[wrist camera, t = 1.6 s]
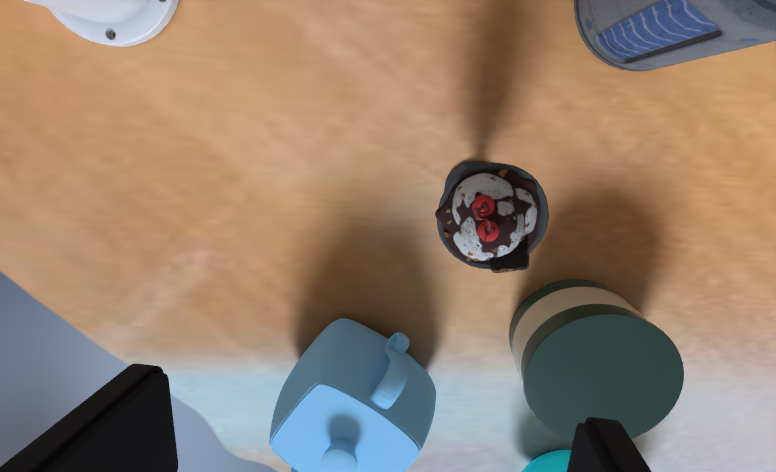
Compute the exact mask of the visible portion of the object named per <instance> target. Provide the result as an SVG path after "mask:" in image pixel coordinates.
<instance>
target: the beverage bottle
mask: <svg viewBox="0 0 776 472" xmlns="http://www.w3.org/2000/svg"><path fill="white" fill-rule="evenodd" d="M574 11H575V19H576V24H577V27H578V30H579V33H580V36H581V37H582V39H583V41H584V42H585V44H586V46H587V47H588V49H589V50H590V51H591V52H592V53H593V54H594V55H595V56H596V57H597V58H599V59H600V60H602V61H603V62H605V63H606V64H608V65H610V66H613V67H616V68H619V69H621V70H629V71H646V70H653V69H657V68H662V67H666V66H670V65H674V64H679V63H683V62H687V61H691V60H696V59H700V58H704V57H709V56H713V55H717V54H721V53H726V52H730V51H734V50H739V49H743V48H747V47H751V46H756V45H760V44H764V43H768V42H773V41H776V0H574Z"/></svg>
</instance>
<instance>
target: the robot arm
mask: <svg viewBox="0 0 776 472" xmlns="http://www.w3.org/2000/svg"><path fill="white" fill-rule="evenodd" d="M25 1H28V2H32V3H35V4H38V5H42V6H45V7H48V8H49V9H50V11H51V12H52V13H53V14H54V16H55V17H56V18H57V19H58V20H59V21H61V22H62V23H63V24H64V25H65V26H66V27H67V28H68V29H70V30H72V31H73V32H75V33H76V34H78V35H80V36H81V37H83V38H86V39H88V40H91V41H93V42H96V43H100V44H104V45H109V46H119V47H126V46H133V45H138V44H140V43H143V42H145V41H147V40H150V39H151V38H152V37H154V36H155V35H157V34H158V33H159V32H160V31H161V30H162V29H163V28H164V27H165V26H166V25H167V23H168V22H169V21H170V19H171V18H172V16H173V14H174V12H175V10H176V9H177V6H178V3H179V0H25ZM177 469H178V458H177V449H176V441H175V432H174V425H173V415H172V406H171V398H170V389H169V380H168V376H167V375H166V374H164V373H163V370H162V369H161V367H159V366H153V365H144V364H132V365H130V366H129V367H127V368H126V369H125V370H123V372H121V373H120V374H118V375H117V376H116V377H115V378H113V379H112V380H111V381H110V382H108V383H107V384H106V385H104V386H103V387H102V388H100V389H99V390H98V391H97V392H95V393H94V394H93V395H92V396H90V397H89V398H88V399H87V400H85V401H84V402H83V403H81V404H80V405H79V406H78V407H76V408H75V409H74V410H72V411H71V412H70V413H69V414H67V415H66V416H65V417H63V418H62V419H61V420H60V421H58V422H57V423H56V424H55V425H53V426H52V427H51V428H50V429H48V430H47V431H46V432H45V433H43V434H42V435H41V436H39V437H38V438H37V439H35V440H34V441H33V442H32V443H30V444H29V445H28V446H27V447H25V448H24V449H23V450H21V451H20V452H19V453H18V454H16V455H15V456H14V457H12V458H11V459H10V460H9V461H7V462H6V463H5V464H4V465H2V466H1V467H0V472H177ZM567 472H651V470H650V469H649V467H648V465H647V464H646V462H645V461H644V459H643V458H642V456H641V454H640V453H639V451H638V450H637V448H636V446H635V445H634V443H633V442H632V440H631V438H630V437H629V435H628V434H627V432H626V430H625V429H624V427H623V426H622V424H621V423H620V422H619V421H617V420H613V419H604V418H596V417H588V418H587V419H586V420H585V423H578V425H577V427H576V431H575V435H574V440H573V445H572V449H571V454H570V458H569V463H568V468H567Z"/></svg>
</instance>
